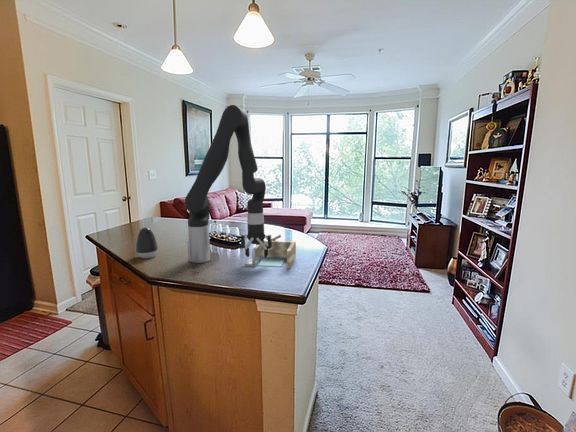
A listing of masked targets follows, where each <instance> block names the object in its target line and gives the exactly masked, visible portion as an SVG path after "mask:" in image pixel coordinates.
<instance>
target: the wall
mask: <svg viewBox="0 0 576 432" xmlns="http://www.w3.org/2000/svg"><path fill="white" fill-rule="evenodd" d="M281 237H282V235H281V234H279V235H277V236H274V237H273V238H271V239H272V241H277V240H278V239H279V238H281Z"/></svg>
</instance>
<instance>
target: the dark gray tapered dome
mask: <svg viewBox="0 0 576 432" xmlns="http://www.w3.org/2000/svg"><path fill="white" fill-rule="evenodd" d="M158 250H159V246H158V242H157V239H156V236H155V234H154V232H153V230H152V229H151V228H149V227H146V226H145V227H142V228H141V229H140V230H139V231H138V233H137V236H136V240H135V250H134V251H135V253H136V255H137V256H138V257H139V258H141V259H150V258H153V257H155V256H156V255H157V253H158Z"/></svg>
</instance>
